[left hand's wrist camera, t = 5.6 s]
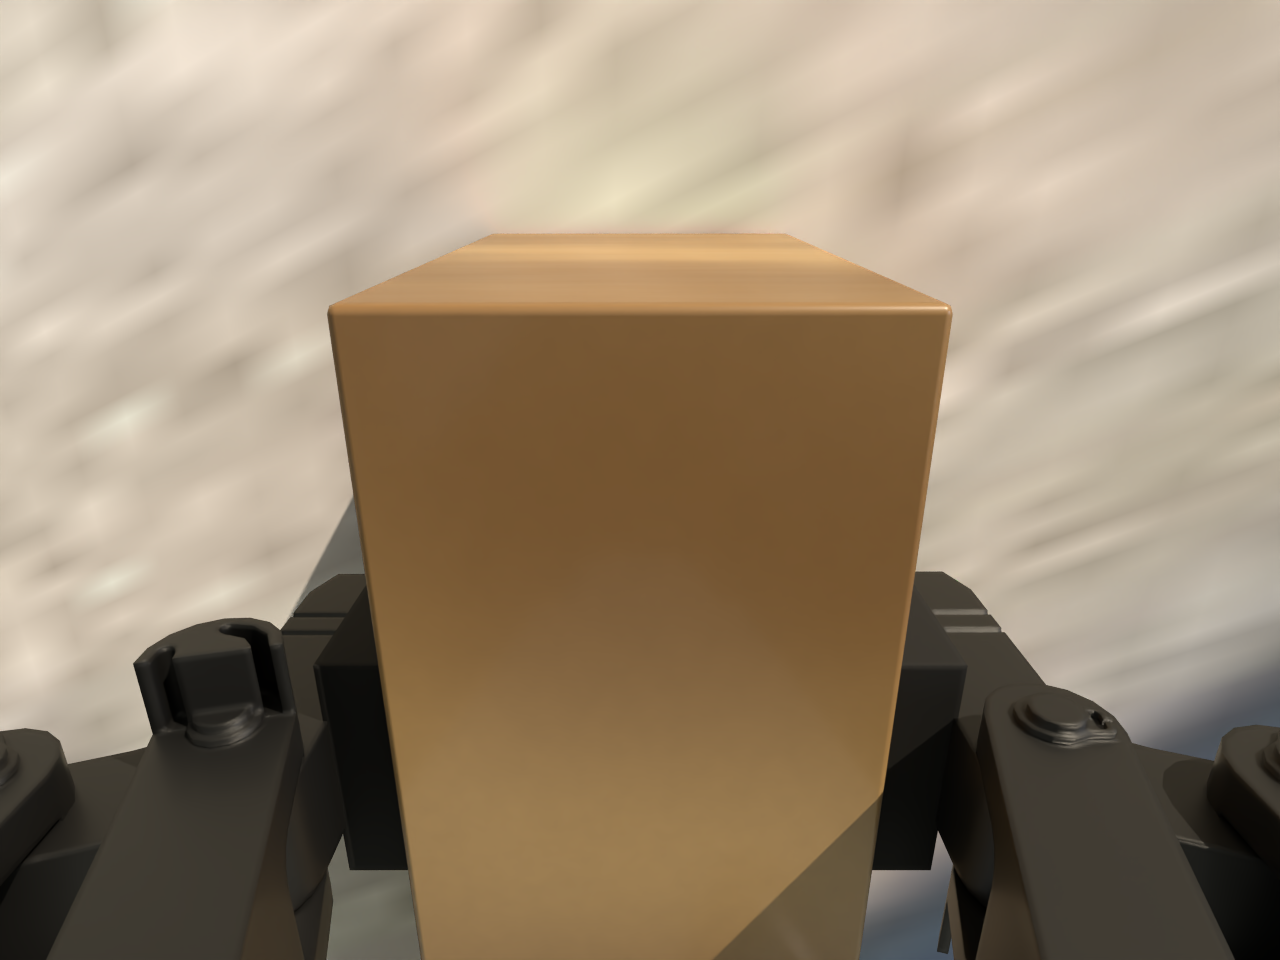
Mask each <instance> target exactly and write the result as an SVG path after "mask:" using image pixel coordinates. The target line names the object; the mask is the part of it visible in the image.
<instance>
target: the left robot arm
mask: <svg viewBox="0 0 1280 960" xmlns="http://www.w3.org/2000/svg"><path fill="white" fill-rule="evenodd" d="M133 665H134V669H135V672H136V676H137V679H138V683H139V686H140V690H141V694H142V697H143V701H144V704H145V708H146V711H147V715H148V718H149V722H150V726H151V729H152V733H153V735H152V737H151V739H150V742H149V744H148V746H147V747H145V748H141V749H138V750H134V751H130V752H125V753H120V754H115V755H111V756H106V757H101V758H96V759H91V760H86V761H81V762H77V763H72V764H67V761H66V758H65V755H64V752H63V749H62V746H61V743H60V741H59V740H58V739H57V738H55V737H54V736H53V735H52V734H50V733H49V732H48V731H41V730H34V729H27V728H24V729H16V730H8V731H0V960H326V956H327V948H328V940H329V931H330V923H331V915H332V906H333V897H332V890H331V883H330V878H329V873H328V866H329V863H330V861H331V859H332V857H333V855H334V852H335V850H336V848H337V846H338V843H339V841H340V839H341V837H342V834H343V835H344V840H345V846H346V851H347V857H348V862H349V868H350V870H408V865H407V858H406V851H405V844H404V838H403V831H402V824H401V817H400V810H399V803H398V796H397V790H396V783H395V776H394V769H393V762H392V755H391V748H390V742H389V735H388V728H387V721H386V714H385V707H384V700H383V694H382V687H381V680H380V673H379V666H378V659H377V653H376V646H375V639H374V632H373V625H372V618H371V611H370V605H369V598H368V591H367V584H366V577H365V574H338V575H336V576H335V577H333V578H332V579H330V580H329V581H327V582H325V583H324V584H322V585H321V586H319V587H317V588H316V589H314V590H313V591H311V592H310V593H309V594H308V595H307V597H306V598H305V599H304V601H303V602H302V603H301V604H300V606H299V607H298V608H297V610H296V611H295V612H294V616H293V617H290V618H289V620H288V621H287V622H286V624H285V625H284V626H283V627H282V629H281V630H279V629H278V628H277V627H275V626H274V625H273V624H272V623H270V622H267V621H262V620H258V619H253V618H227V619H220V620H216V621H211V622H206V623H201V624H197V625H194V626H191V627H189V628H186V629H183V630H181V631H178V632H176V633H173V634H170V635H168V636H167V637H165V638H164V639H162V640H160V641H159V642H157V643H155V644H154V645H152V646H150V647H149V648H147V649H146V650H145V651H144V653H143V654H142V655H141V656H140V657H139V658H138V659H137V660H136V661H135V662H134V663H133ZM938 831H939V834H940V836H941V838H942V840H943V843H944V845H945V847H946V849H947V851H948V854H949V856H950V858H951V860H952V863H953V868H952V873H951V878H950V883H949V888H948V893H947V898H946V903H945V909H944V914H943V919H942V924H941V929H940V934H939V941H938V948H937V952H942V953H946V954H948V951H949V946H950V941H951V938H952V946H953V954H954V960H1280V728H1278V727H1270V726H1262V725H1251V726H1244V727H1237V728H1233V729H1232V730H1231V731H1230V732H1228V733H1227V734H1226V735H1224V736H1223V737H1222V739H1221V742H1220V745H1219V748H1218V751H1217V754H1216V757H1215V760H1214V761H1211V760H1207V759H1202V758H1197V757H1192V756H1187V755H1182V754H1177V753H1172V752H1168V751H1163V750H1158V749H1153V748H1149V747H1145V746H1141V745H1137V744H1134V743H1132V742H1131V740H1130V738H1129V736H1128V734H1127V732H1126V731H1125V730H1124V728H1123V727H1122V726H1121V725H1120V723H1119V722H1118V721H1117V720H1116V718H1115V717H1114V716H1113V715H1111V714H1110V713H1109V712H1107V711H1106V710H1104V709H1103V708H1102V707H1100V706H1099V705H1097V704H1096V703H1094V702H1093V701H1091V700H1089V699H1086V698H1084V697H1082V696H1080V695H1077V694H1075V693H1073V692H1070V691H1068V690H1065V689H1061V688H1056V687H1052V686H1048V685H1046V684H1045V683H1044V682H1043V680H1042V679H1041V678H1040V677H1039V675H1038V674H1037V673H1036V672H1035V670H1034V669H1033V668H1032V666H1031V665H1030V664H1029V663H1028V661H1027V660H1026V659H1025V658H1024V656H1023V655H1022V654H1021V652H1020V651H1019V650H1018V649H1017V647H1016V646H1015V645H1014V644H1013V642H1012V641H1011V640H1010V639H1009V637H1008V636H1007V635H1006V633H1005V632H1001V627H1000V626H999V625H998V623H997V622H996V621H995V619H994V618H993V617H992V616H991V615H988V613H987V609H986V608H985V607H984V606H983V604H982V603H981V602H980V600H979V599H978V598H977V597H976V595H975V594H974V593H973V592H972V590H971V589H969V588H968V587H966V586H964V585H963V584H961V583H960V582H958V581H956V580H955V579H953V578H952V577H950V576H949V575H947V574H945V573H944V572H915V577H914V584H913V591H912V597H911V604H910V611H909V618H908V625H907V632H906V639H905V646H904V653H903V660H902V666H901V673H900V680H899V687H898V694H897V701H896V708H895V715H894V722H893V728H892V735H891V742H890V749H889V756H888V763H887V770H886V777H885V784H884V791H883V797H882V804H881V811H880V818H879V825H878V832H877V839H876V846H875V853H874V859H873V866H872V870H931V865H932V860H933V854H934V849H935V843H936V838H937V832H938Z"/></svg>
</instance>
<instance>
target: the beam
mask: <svg viewBox="0 0 1280 960" xmlns="http://www.w3.org/2000/svg"><path fill="white" fill-rule="evenodd" d="M952 315H953V314H952V310H951V306H950V305H948V304H946V303H943V302H941V301H939V300H937V299H934V298H932V297H930V296H927V295H925V294H923V293H920V292H918V291H916V290H914V289H911V288H909V287H907V286H904V285H902V284H900V283H898V282H895V281H893V280H891V279H888V278H886V277H884V276H881V275H879V274H877V273H875V272H872V271H870V270H868V269H865V268H863V267H861V266H858V265H856V264H854V263H852V262H849V261H847V260H845V259H842V258H840V257H838V256H836V255H833V254H831V253H829V252H826V251H824V250H822V249H819V248H817V247H815V246H813V245H810V244H808V243H806V242H803V241H801V240H799V239H797V238H794V237H792V236H790V235H787V234H492V235H489V236H487V237H485V238H483V239H480V240H478V241H476V242H474V243H471V244H469V245H467V246H464V247H462V248H460V249H458V250H455V251H453V252H451V253H449V254H446V255H444V256H442V257H439V258H437V259H435V260H433V261H430V262H428V263H426V264H424V265H421V266H419V267H417V268H414V269H412V270H410V271H408V272H405V273H403V274H401V275H399V276H396V277H394V278H392V279H389V280H387V281H385V282H383V283H380V284H378V285H376V286H374V287H371V288H369V289H367V290H364V291H362V292H360V293H358V294H355V295H353V296H351V297H349V298H346V299H344V300H342V301H339V302H337V303H335V304H333V305H330V306H329V309H328V313H327V317H328V323H329V330H330V337H331V344H332V351H333V358H334V365H335V371H336V378H337V385H338V392H339V399H340V406H341V413H342V419H343V426H344V433H345V440H346V447H347V454H348V461H349V467H350V474H351V481H352V488H353V495H354V502H355V509H356V515H357V522H358V529H359V536H360V543H361V550H362V557H363V563H364V570H365V577H366V584H367V591H368V598H369V605H370V611H371V618H372V625H373V632H374V639H375V646H376V653H377V659H378V666H379V673H380V680H381V687H382V694H383V700H384V707H385V714H386V721H387V728H388V735H389V742H390V748H391V755H392V762H393V769H394V776H395V783H396V790H397V796H398V803H399V810H400V817H401V824H402V831H403V838H404V844H405V851H406V858H407V865H408V872H409V879H410V886H411V892H412V899H413V906H414V913H415V920H416V927H417V934H418V940H419V947H420V954H421V960H859V956H860V949H861V942H862V935H863V928H864V922H865V915H866V908H867V901H868V894H869V887H870V880H871V873H872V866H873V859H874V853H875V846H876V839H877V832H878V825H879V818H880V811H881V804H882V797H883V791H884V784H885V777H886V770H887V763H888V756H889V749H890V742H891V735H892V728H893V722H894V715H895V708H896V701H897V694H898V687H899V680H900V673H901V666H902V660H903V653H904V646H905V639H906V632H907V625H908V618H909V611H910V604H911V597H912V591H913V584H914V577H915V570H916V563H917V556H918V549H919V542H920V535H921V528H922V522H923V515H924V508H925V501H926V494H927V487H928V480H929V473H930V466H931V460H932V453H933V446H934V439H935V432H936V425H937V418H938V411H939V404H940V397H941V391H942V384H943V377H944V370H945V363H946V356H947V349H948V342H949V335H950V328H951V322H952Z"/></svg>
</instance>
